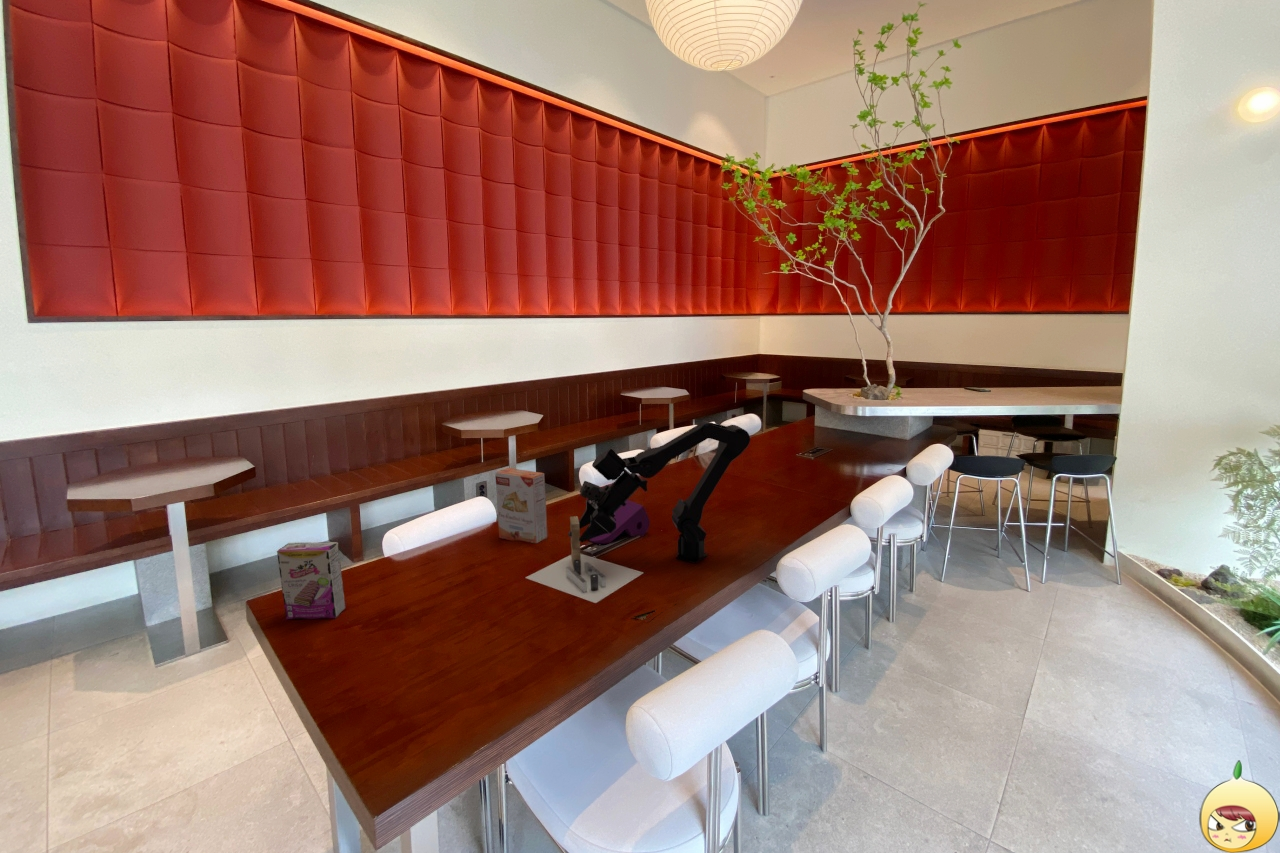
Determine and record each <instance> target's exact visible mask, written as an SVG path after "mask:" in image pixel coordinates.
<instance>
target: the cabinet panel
mask: <svg viewBox="0 0 1280 853" xmlns="http://www.w3.org/2000/svg"><path fill="white" fill-rule="evenodd" d="M580 558H581V575H580V576H581V577H582V578H583V579H584V580H585V581H587V592H584V593H583V592H582V591H581V590H580V589H579V588H578V587H577V586H576V585H575V584H574V583H573V582H572V581H571V580H569V579H568V578H567V577H566V567H569V566H570V567H571V568H572V569H573V565H572V557H571V554H569V555H568V556H565V557H564V558H561V559H559V560H558V561H556V562H554V563H552V564H549V565H547V566H545V567H543V568H541V569H539V570H537V571H536V572H534V573H531V574H530V575H528V576H525V579H527V580H530V581H533V582H535V583H539V584H541V585H544V586H546V587H549V588H551V589H552V588H553V589H554V590H558V591H560V592H563V593H565V594H569V595H572V596H575V597H578V598H580V599H583V600H586V601H588V602H591V603H594V604H597V603H599V602H601V601H602V600H603V599H605V598H606V597H608V596H610V595H611V594H612V593H615V592H616V591H618V590H619V589H620V588H623V586H625V585H627V584H629V583H630V582H632V581H633V580H635V579H636V578H638V577H640V576H641V575H643V574H644V572H643V571H639V570H635V569H633V568H629V567H627V566H624V565H619V564H616V563H613V562H609V561H606V560H602V559H599V558H596V557H593V556H590V555H586V554H583V553H580ZM586 562H589V563H590V564H591V565H592V566H593V567H595V568H596V569H597V570H598V571H599V572H601V573H602V574H603V575H604V576H605V577H606V587H601V586H600V585H599V584H598V590H597V591H591V580H590V576H589V575H587V574H586V573H585V569H584V563H586ZM573 570H574V569H573Z"/></svg>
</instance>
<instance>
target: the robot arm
mask: <svg viewBox="0 0 1280 853" xmlns="http://www.w3.org/2000/svg"><path fill="white" fill-rule="evenodd" d="M708 439H711V440H715V441H717V442H718V443H717V448H716V451H715V455H714V456H713V458H712V459H711V461H710V463H709V464H708V466H707V467H706V469H705V471H704V472H703V474H702V476H701V477H700V478H699V481H698V482H697V484H696V485H695V487H694V488H693V490H692V492H691V493H690V495H689V496H688V497H687V498H686V499H685V500H683V499H681V498H679V499H678V500H677V503H676V505H675V507H674V508H671V512H672V514H671V521H672V523H673V524H674V526H675V527H676V529H677V531H678V533H680V534H678V539H677V555H675V558H676V559H678V560H683V561H687V562H689V563H692V562H694V563H693V564H698V563H699V562H700V561H701V559H702V560H703V559H704V557H705V556H706V557H707V556H708V553H706V552H705V539H706V536H707V532H706V531H705V530H704V528H703V527H702V525H700V523H701V520H702V518H703V517H702V516H703V511H704V507H705V505H706V503H707V502H708V500H709V499H710V496H711V495H712V494H713V493H714V490H715V489H716V487H717V485H718V484H719V482H720V481H721V479H722V477H723V475H724V474H725V472H726V471H727V469H728V468H729V466H730V464H731V463H732V462H733V461H734V460H735V459H737V458H738V457H739V456H741V455H742V453H743V452H744V451H745V450H746V449H747V448H748V447H749V445H750V443H751V437H750V433H749V432H748V431H747V430H746V429H744V428H742V427H741V426H739V425H737V424H729V425H727V426H726V425H723V424H719V423H713V422H709V421H708V420H703V421H700V422H699V423H698V424H697V425H695V426H693V427H691V428H690V429H689V430H686V431H685V432H683V433H681V434H680V435H677V436H676V437H675V438H673V439H670V440H669V441H667V442H666V443H664V444H661V445H660V446H657V447H652V448H649V449H646V450H643V451H640V452H639V453H637V454H636V455H635V456H631V457H625V458H622V457H621V456H620V455H619V454H618V453H617V452H616V451H615V450H614V449H613V448H612V447H609V448H608V449H606V450H604V451H603V452H602V453H600V454H599V455H597V457H596V458H595V459H594V460H593V462H592V465H591V467H592V468H594V469H595V470H596V471H597V472H598V473H599V474H600V475H601V476H603V478H605V479H606V480H607V481H614V482H612V484H611V485H610V484H606V485H605V486H604V487H601V486H599V485H598V484H595V483H592V482H590V481H587V480H584V481H583V484H582V485H581V487H580V490H579V493H580V495H579V496H581V497H582V498H584V499H585V506H586V508H585V510H584V512H583V514H582V515H581V517H580V519H579V528H580V530H581V529H583V528H585V527H586V528H585V530H584V531H583V533H581V534H580V538H579V541H580V543H584V542H586V541H589V539H592V538H594V537H597V536H600V535H603V534H608V533H612V532H613V531H614V530H615V529H616V522H615V520H614V517H615V512H616V511H617V510H618V509H619V508H620V507H621V506H625V505H626V501H627V500H629V498H631V496H633V494H635V492H636V491H637V490H638V489H639V488H641V489H642V490H643V491H644V492H647V491H648V480H647V479H651V478H653V477H655V476H656V475H657V474H659V472H661V471H662V470H664V468H665V467H666V466H667V465H668V463H670V462H671V461H672V460H673V459H675V458H677V457H678V456H680V455H682V454H684V453H685V452H687V451H689V450H691V449H692V448H694V447H695V446H697V445H699V444H701V443H703V442H704V441H706V440H708ZM640 476H641V477H640ZM706 557H705V558H706ZM698 561H699V562H698Z"/></svg>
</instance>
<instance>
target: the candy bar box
mask: <svg viewBox="0 0 1280 853" xmlns="http://www.w3.org/2000/svg"><path fill="white" fill-rule="evenodd" d="M339 548H340V546H339V542H338V541H331V542H330V541H329V542H321V541H320V542H288V543H286V544H285V545H284V546H282V547H281V548H279V549H278V550H277V551H276V553H277V562H278V570H279V577H280V582H281V590H282V597H283V605H284V606H283V607H284V612H285V619H286V620H305V619H306V620H307V619H308V620H309V619H311V620H312V619H336V618H338V617H339V615H340V614H341V613H342V612H343V611H344V610H345V609H346V602H345V600H346V599H345V592H344V591H345V590H344V584H343V576H342V567H341V566H342V565H341V558H340V557H341V556H340V549H339Z"/></svg>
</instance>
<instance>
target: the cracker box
mask: <svg viewBox="0 0 1280 853" xmlns="http://www.w3.org/2000/svg"><path fill="white" fill-rule="evenodd" d="M495 489H496V490H495V492H496V504H497V505H496V506H497V520H498V521H497V522H498V535H499V536H498V537H499V539H503V540H506V541H507V540H508V541H511V542H513V541H523V542H527V543H532V544H538V543H539V542H541V541H543V540H545V539H548V522H547V521H548V520H547V501H546V499H547V498H546V479H545V473H544V472H539V471H538V472H537V471H532V470H525V469H518V468H512V467H506V468H503V469H500V470H496V471H495Z"/></svg>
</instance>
